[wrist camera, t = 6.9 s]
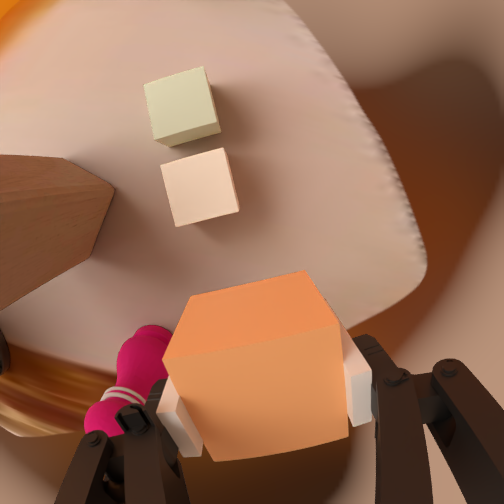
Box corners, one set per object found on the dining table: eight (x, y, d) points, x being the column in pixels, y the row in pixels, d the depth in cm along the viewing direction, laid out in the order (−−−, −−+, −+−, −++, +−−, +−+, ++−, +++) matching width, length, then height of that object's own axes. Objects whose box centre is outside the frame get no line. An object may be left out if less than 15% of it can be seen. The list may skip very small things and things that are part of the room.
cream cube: (187, 219, 33) (175, 227, 27) (174, 168, 31) (160, 165, 25) (239, 206, 32) (238, 211, 27) (226, 153, 31) (223, 147, 25)
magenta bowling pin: (146, 310, 35) (74, 419, 15) (192, 343, 36) (158, 469, 17) (122, 345, 36) (55, 450, 17) (165, 375, 37) (124, 492, 18)
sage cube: (169, 147, 31) (154, 140, 25) (159, 99, 29) (143, 84, 24) (221, 132, 31) (216, 121, 25) (210, 85, 29) (203, 66, 23)
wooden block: (61, 155, 30) (-61, 150, 11) (120, 187, 31) (-3, 201, 12) (38, 225, 32) (-75, 262, 12) (91, 260, 33) (-17, 328, 14)
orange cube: (221, 385, 16) (214, 461, 11) (190, 296, 15) (161, 359, 9) (320, 364, 16) (348, 436, 10) (304, 270, 15) (339, 323, 9)
